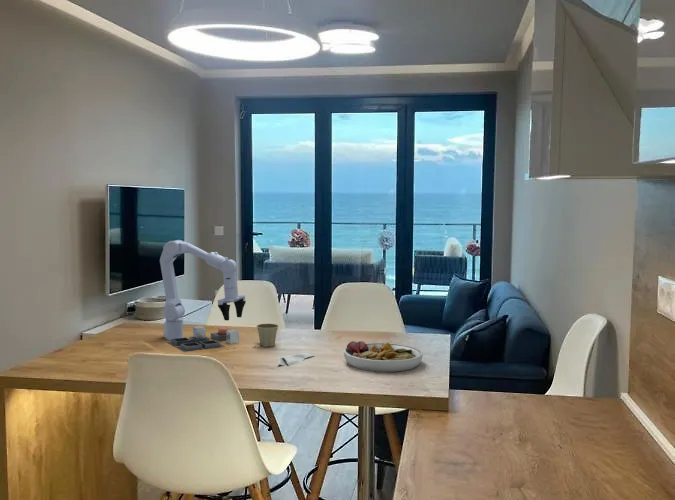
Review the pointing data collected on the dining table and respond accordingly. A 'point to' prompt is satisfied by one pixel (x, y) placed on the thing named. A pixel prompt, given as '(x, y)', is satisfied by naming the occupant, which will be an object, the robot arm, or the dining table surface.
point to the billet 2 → (232, 336)
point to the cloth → (294, 359)
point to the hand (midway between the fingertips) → (233, 318)
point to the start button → (222, 331)
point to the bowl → (382, 356)
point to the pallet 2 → (199, 345)
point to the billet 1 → (199, 332)
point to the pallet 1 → (185, 341)
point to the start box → (218, 337)
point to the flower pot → (267, 334)
